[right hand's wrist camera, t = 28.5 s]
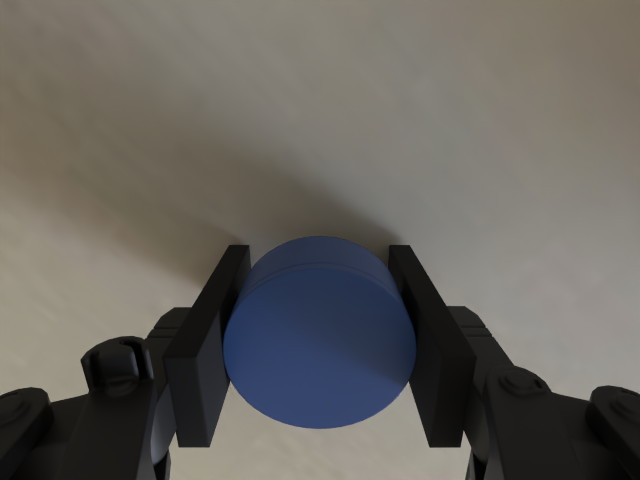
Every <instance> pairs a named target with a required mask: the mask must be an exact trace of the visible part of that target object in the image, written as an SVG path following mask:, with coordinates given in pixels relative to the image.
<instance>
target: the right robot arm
mask: <svg viewBox="0 0 640 480" xmlns="http://www.w3.org/2000/svg"><path fill="white" fill-rule="evenodd" d="M388 270H389V271H390V273H391V274H392V276H393V278H394V280H395V282H396V285H397V287H398V289H399V292H400V294H401V297H402V299H403V302H404V304H405V307H406V309H407V312H408V314H409V317H410V319H411V322H412V324H413V327H414V331H415V335H416V342H417V353H416V361H415V366H414V369H413V372H412V375H411V377H410V379H409V384H410V387H411V390H412V393H413V396H414V399H415V403H416V406H417V409H418V412H419V415H420V418H421V422H422V425H423V428H424V431H425V434H426V437H427V441H428V444H429V447H430V448H434V447H461V441H462V436H463V431H464V432H465V434H466V436H467V439H468V441H469V443H470V446H471V453H470V458H469V463H468V468H467V473H466V478H465V480H640V394H638V393H636V392H634V391H631V390H628V389H625V388H622V387H615V386H600V387H597V388H596V389H595V390H593V391H592V394H591V397H590V400H589V401H587V400H582V399H578V398H573V397H569V396H564V395H560V394H556V393H553V392H551V390H550V388H549V387H548V385H547V384H546V382H545V381H543V380H542V379H541V378H540V377H539V376H537V375H536V374H534V373H532V372H530V371H528V370H526V369H524V368H521V367H517V366H514V365H513V363H512V362H511V360H510V359H509V358H508V356H507V355H506V354H505V352H504V351H503V349H502V348H501V347H500V345H499V344H498V342H497V341H496V340H495V338H494V337H492V334H491V333H490V331H489V330H488V329H487V328H486V327H485V325H484V323H483V322H482V320H481V319H480V318H479V316H478V315H477V314H475V313H474V312H472V311H471V310H469V309H468V308H466V307H465V306H446V305H445V303H444V301H443V300H442V298H441V296H440V295H439V293H438V291H437V290H436V288H435V286H434V285H433V283H432V281H431V280H430V278H429V277H428V275H427V273H426V272H425V270H424V268H423V267H422V265H421V263H420V262H419V260H418V258H417V257H416V255H415V253H414V252H413V250H412V249H411V247H410V245H390V249H389V263H388ZM250 271H251V263H250V250H249V245H229V247H228V248H227V250H226V252H225V253H224V255H223V257H222V258H221V260H220V262H219V263H218V265H217V267H216V268H215V270H214V272H213V273H212V275H211V276H210V278H209V280H208V281H207V283H206V285H205V286H204V288H203V290H202V291H201V293H200V295H199V296H198V298H197V300H196V301H195V303H194V305H193V306H192V307H174V308H173V309H172V310H170V311H169V312H167V313H166V314H164V315H163V316H161V318H160V319H159V321H158V322H157V323H156V325H155V326H154V329H152V330H151V332H150V333H149V334H148V336H147V338H146V339H145V340H144V339H142V338H139V337H135V336H122V337H117V338H113V339H109V340H107V341H104V342H102V343H100V344H98V345H96V346H94V347H93V348H92V349H90V350H89V351H87V352H86V353H85V355H84V356H83V357H82V359H81V364H82V367H83V371H84V374H85V378H86V381H87V385H88V388H89V392H88V394H85V395H82V396H78V397H73V398H69V399H65V400H60V401H56V402H51V403H50V400H49V397H48V394H47V393H46V392H45V391H44V390H43V389H41V388H33V387H29V388H23V389H17V390H14V391H11V392H8V393H5V394H3V395H1V396H0V480H169V477H170V467H171V459H170V453H169V445H170V443H171V441H172V438H173V436H174V434H175V431H176V435H177V441H178V446H179V447H210V444H211V441H212V438H213V435H214V431H215V428H216V425H217V422H218V419H219V416H220V412H221V409H222V406H223V403H224V400H225V396H226V393H227V390H228V387H229V384H230V381H231V380H230V378H229V376H228V374H227V371H226V368H225V365H224V359H223V337H224V332H225V329H226V326H227V322H228V320H229V318H230V315H231V313H232V310H233V308H234V305H235V303H236V300H237V298H238V296H239V293H240V291H241V288H242V286H243V283H244V281H245V279H246V277H247V275H248V273H249V272H250Z"/></svg>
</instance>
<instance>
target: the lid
mask: <svg viewBox="0 0 640 480" xmlns="http://www.w3.org/2000/svg"><path fill="white" fill-rule="evenodd" d="M416 353H417V342H416V335H415V331H414V327H413V324H412V322H411V319H410V317H409V314H408V312H407V309H406V307H405V304H404V302H403V299H402V297H401V294H400V292H399V289H398V287H397V285H396V282H395V280H394V278H393V276H392V274H391V273H390V271H389V270H388V268H387V267H386V266H385V265H384V263H383V262H382V261H381V260H380V259H379V258H378V257H376V256H375V255H374V254H373V253H371V252H370V251H368V250H367V249H365V248H364V247H362V246H360V245H358V244H356V243H353V242H350V241H347V240H344V239H340V238H335V237H325V236H315V237H305V238H299V239H296V240H292V241H289V242H286V243H284V244H282V245H280V246H278V247H276V248H274V249H273V250H271V251H269V252H268V253H267V254H266V255H264V256H263V257H262V258H261V259H260V260H259V261H258V262H257V263H256V264H255V265H254V266H253V268H252V269H251V271H250V272H249V273H248V275H247V277H246V279H245V281H244V283H243V286H242V288H241V291H240V293H239V296H238V298H237V300H236V303H235V305H234V308H233V310H232V313H231V315H230V318H229V320H228V322H227V326H226V329H225V332H224V337H223V359H224V365H225V368H226V371H227V374H228V376H229V378H230V380H231V382H232V384H233V385H234V387H235V388H236V390H237V391H238V393H239V394H240V395H241V396H242V397H243V398H244V399H245V400H246V401H247V402H248V403H249V404H250V405H251V406H253V407H254V408H255V409H257V410H258V411H260V412H261V413H263V414H264V415H266V416H268V417H270V418H272V419H274V420H277V421H280V422H282V423H285V424H289V425H293V426H297V427H303V428H313V429H327V428H336V427H343V426H347V425H351V424H354V423H357V422H360V421H363V420H365V419H367V418H369V417H371V416H373V415H375V414H377V413H378V412H380V411H381V410H383V409H384V408H386V407H387V406H388V405H389V404H391V403H392V402H393V401H394V400H395V399H396V398H397V397H398V396H399V394H400V393H401V392H402V390H403V389H404V388H405V386H406V384H407V383H408V381H409V379H410V377H411V375H412V372H413V369H414V366H415V361H416Z"/></svg>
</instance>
